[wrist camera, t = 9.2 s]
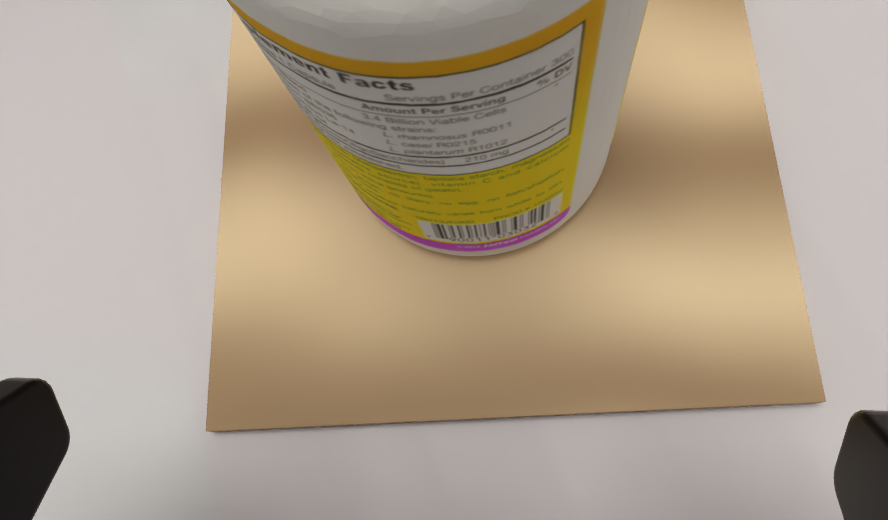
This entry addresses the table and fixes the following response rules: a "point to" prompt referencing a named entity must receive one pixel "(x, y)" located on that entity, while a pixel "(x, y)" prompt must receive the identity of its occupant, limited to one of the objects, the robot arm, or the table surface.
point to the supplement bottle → (458, 106)
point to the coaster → (518, 265)
